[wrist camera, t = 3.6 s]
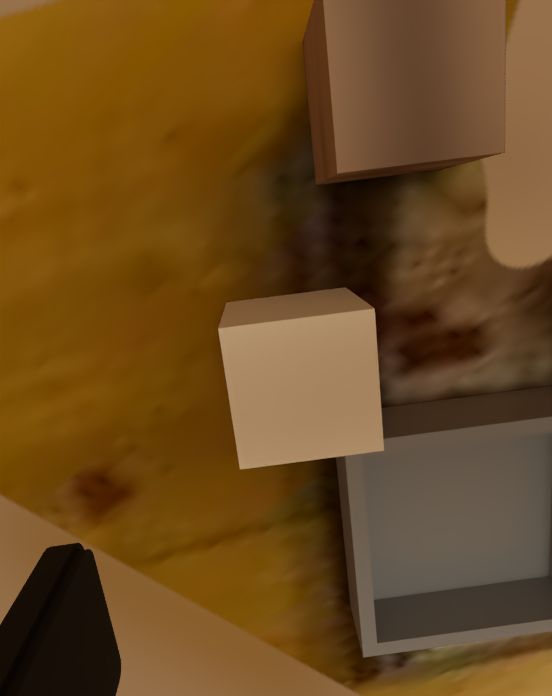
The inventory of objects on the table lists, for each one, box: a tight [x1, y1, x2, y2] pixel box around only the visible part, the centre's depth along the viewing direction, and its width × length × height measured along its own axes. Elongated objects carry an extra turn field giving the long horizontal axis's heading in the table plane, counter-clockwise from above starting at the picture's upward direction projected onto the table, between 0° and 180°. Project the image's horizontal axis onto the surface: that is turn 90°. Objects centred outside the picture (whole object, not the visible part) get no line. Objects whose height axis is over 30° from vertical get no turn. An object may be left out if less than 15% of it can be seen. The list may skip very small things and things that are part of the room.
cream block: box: [218, 287, 384, 470], centre depth 22 cm, size 6×6×6 cm
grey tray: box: [336, 386, 552, 657], centre depth 26 cm, size 13×13×4 cm
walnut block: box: [303, 0, 506, 185], centre depth 19 cm, size 6×6×6 cm
